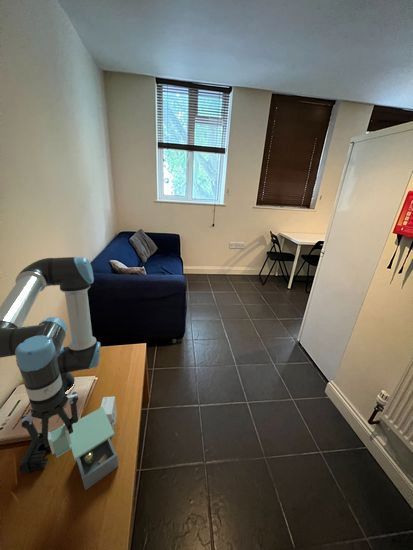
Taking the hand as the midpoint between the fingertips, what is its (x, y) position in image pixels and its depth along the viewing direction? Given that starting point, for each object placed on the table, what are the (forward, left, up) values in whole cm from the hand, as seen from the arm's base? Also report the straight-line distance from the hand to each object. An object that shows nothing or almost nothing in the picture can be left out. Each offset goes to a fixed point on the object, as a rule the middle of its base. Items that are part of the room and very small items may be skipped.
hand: (61, 444), depth 69 cm
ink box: (-12, +17, -20) cm, 29 cm away
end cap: (-15, -7, -20) cm, 26 cm away
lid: (0, +6, -2) cm, 7 cm away
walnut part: (+3, +10, -19) cm, 22 cm away
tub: (0, +8, -20) cm, 22 cm away
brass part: (-2, +6, -19) cm, 20 cm away
